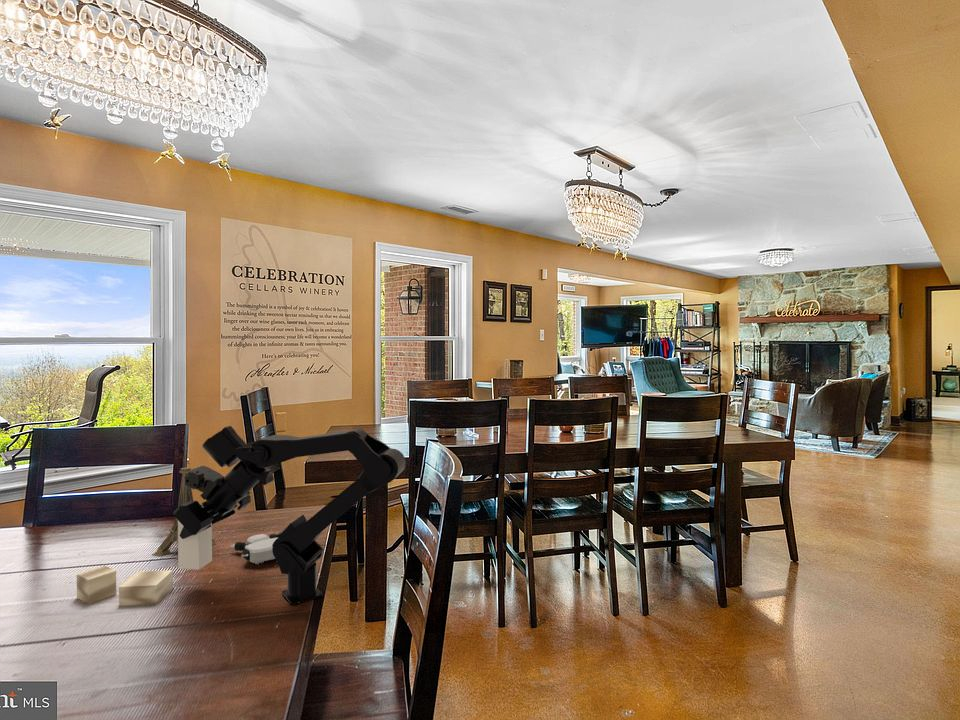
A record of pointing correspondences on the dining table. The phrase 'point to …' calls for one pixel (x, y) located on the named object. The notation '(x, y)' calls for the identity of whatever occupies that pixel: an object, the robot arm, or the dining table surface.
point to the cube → (96, 584)
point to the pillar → (194, 549)
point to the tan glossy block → (145, 587)
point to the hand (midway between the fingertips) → (189, 533)
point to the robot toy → (257, 548)
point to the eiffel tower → (173, 536)
